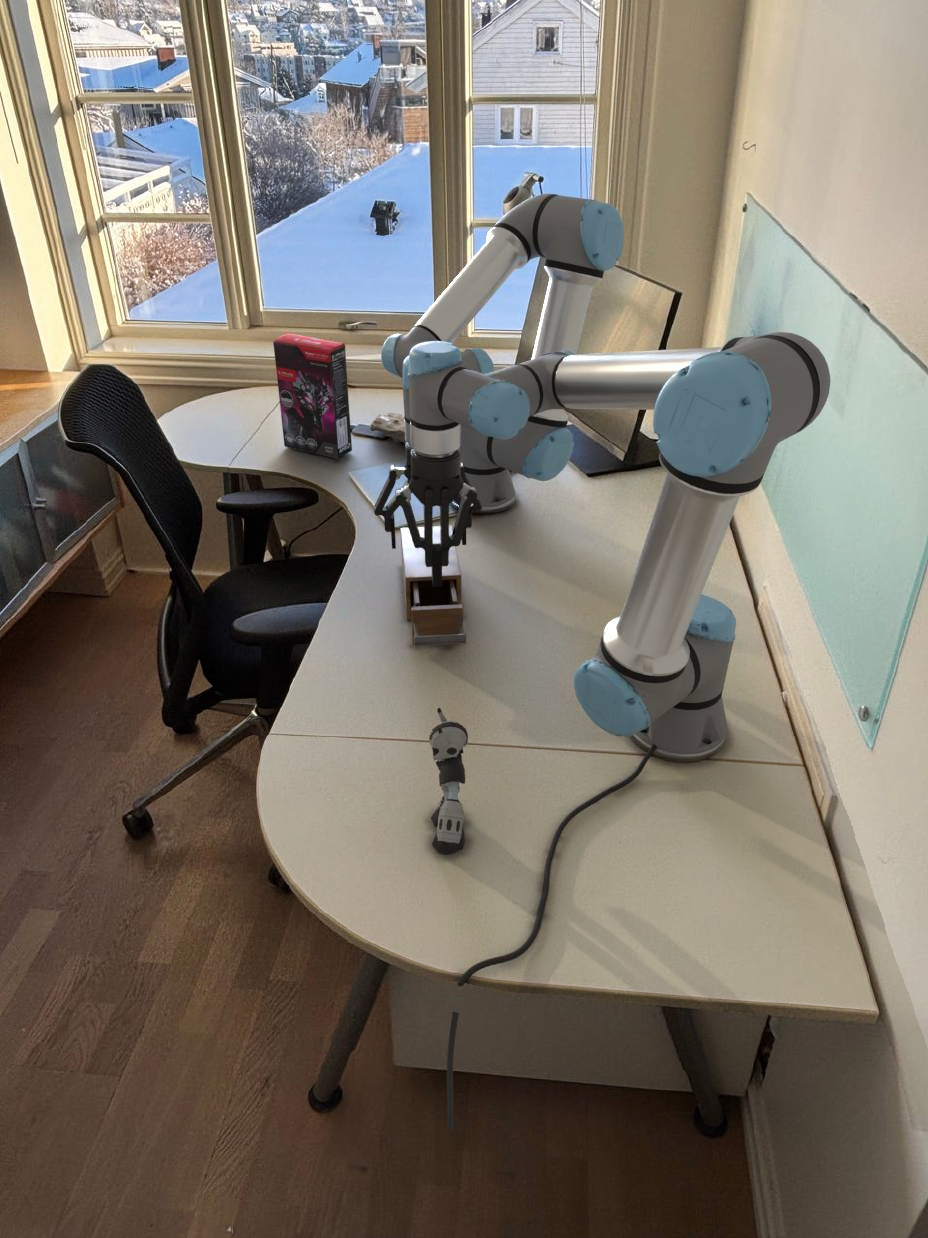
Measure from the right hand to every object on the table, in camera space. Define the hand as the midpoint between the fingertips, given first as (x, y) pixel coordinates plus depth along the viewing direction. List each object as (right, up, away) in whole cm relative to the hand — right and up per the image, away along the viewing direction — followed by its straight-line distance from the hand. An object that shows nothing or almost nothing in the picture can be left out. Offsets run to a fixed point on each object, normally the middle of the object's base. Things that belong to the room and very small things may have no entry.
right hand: (436, 582), depth 151 cm
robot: (+2, -35, -26) cm, 44 cm away
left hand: (-2, +9, +27) cm, 29 cm away
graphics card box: (-32, +36, +80) cm, 93 cm away
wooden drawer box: (-2, -1, +25) cm, 25 cm away
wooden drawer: (-1, -7, +14) cm, 15 cm away
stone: (-10, +39, +84) cm, 93 cm away
